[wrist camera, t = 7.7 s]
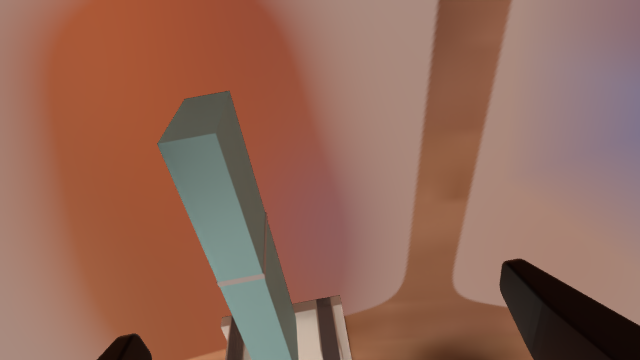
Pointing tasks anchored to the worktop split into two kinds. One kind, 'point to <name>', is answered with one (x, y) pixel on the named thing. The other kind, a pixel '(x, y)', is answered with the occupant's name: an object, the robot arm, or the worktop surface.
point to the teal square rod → (231, 221)
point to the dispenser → (303, 332)
